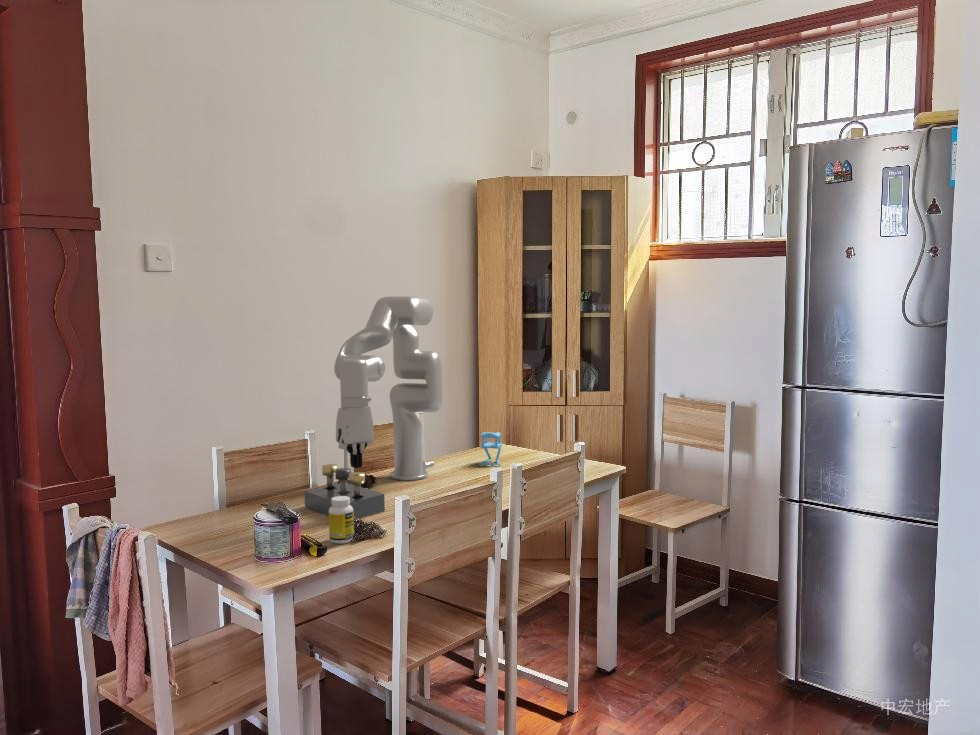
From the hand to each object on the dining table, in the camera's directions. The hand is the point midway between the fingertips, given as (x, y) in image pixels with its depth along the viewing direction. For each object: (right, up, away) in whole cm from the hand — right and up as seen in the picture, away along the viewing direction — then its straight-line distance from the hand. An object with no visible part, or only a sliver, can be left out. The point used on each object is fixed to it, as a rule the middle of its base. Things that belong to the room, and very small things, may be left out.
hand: (356, 467), depth 224 cm
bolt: (-4, -11, +28) cm, 30 cm away
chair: (+38, -7, +61) cm, 73 cm away
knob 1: (-10, -9, +11) cm, 17 cm away
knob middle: (-5, -9, +6) cm, 12 cm away
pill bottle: (0, -16, -21) cm, 26 cm away
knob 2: (0, -10, +1) cm, 10 cm away
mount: (-5, -13, +7) cm, 15 cm away
